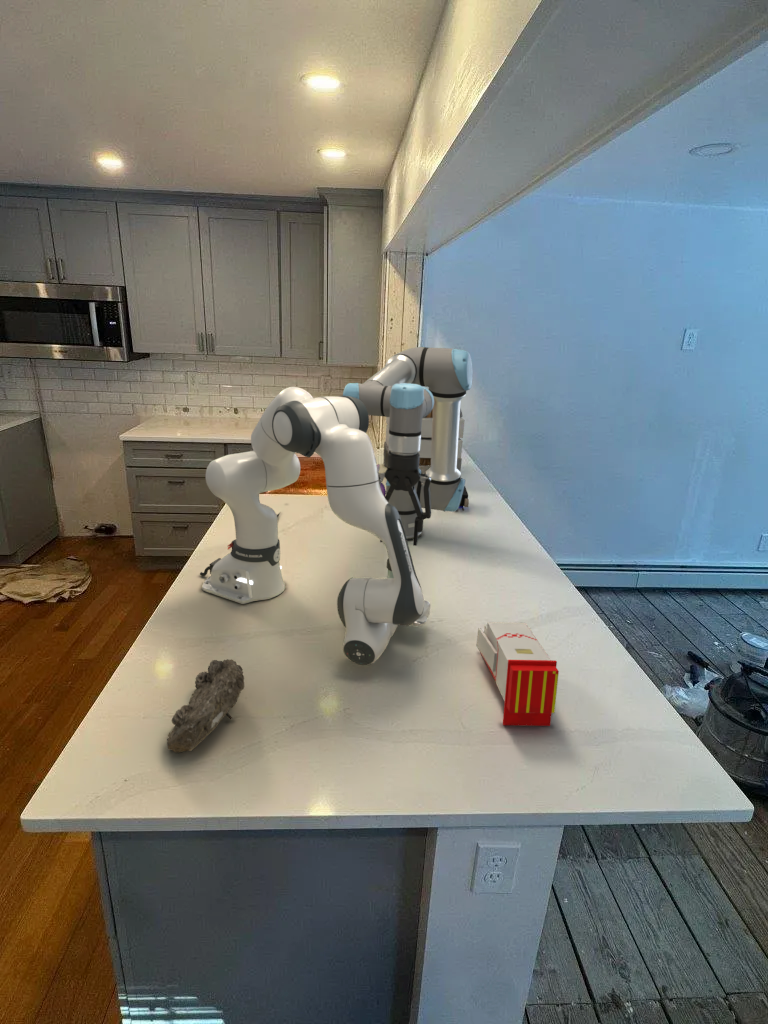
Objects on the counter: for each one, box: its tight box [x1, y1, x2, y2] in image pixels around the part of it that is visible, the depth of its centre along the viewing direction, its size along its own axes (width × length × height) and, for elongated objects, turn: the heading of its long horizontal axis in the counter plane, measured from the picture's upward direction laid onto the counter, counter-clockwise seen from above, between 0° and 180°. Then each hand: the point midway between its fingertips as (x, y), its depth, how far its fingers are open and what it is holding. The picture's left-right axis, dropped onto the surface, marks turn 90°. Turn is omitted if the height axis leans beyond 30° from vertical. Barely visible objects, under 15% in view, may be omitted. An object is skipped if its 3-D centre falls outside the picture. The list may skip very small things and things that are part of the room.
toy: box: [476, 621, 560, 727], centre depth 120 cm, size 12×13×30 cm
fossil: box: [166, 658, 245, 754], centre depth 106 cm, size 22×10×15 cm
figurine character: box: [455, 485, 470, 512], centre depth 229 cm, size 7×8×15 cm
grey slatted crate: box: [383, 407, 465, 474], centre depth 268 cm, size 34×33×41 cm
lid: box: [386, 557, 392, 571], centre depth 142 cm, size 6×6×2 cm
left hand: (396, 591), depth 146 cm, fingers open, 7 cm apart
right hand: (398, 541), depth 140 cm, fingers open, 7 cm apart
